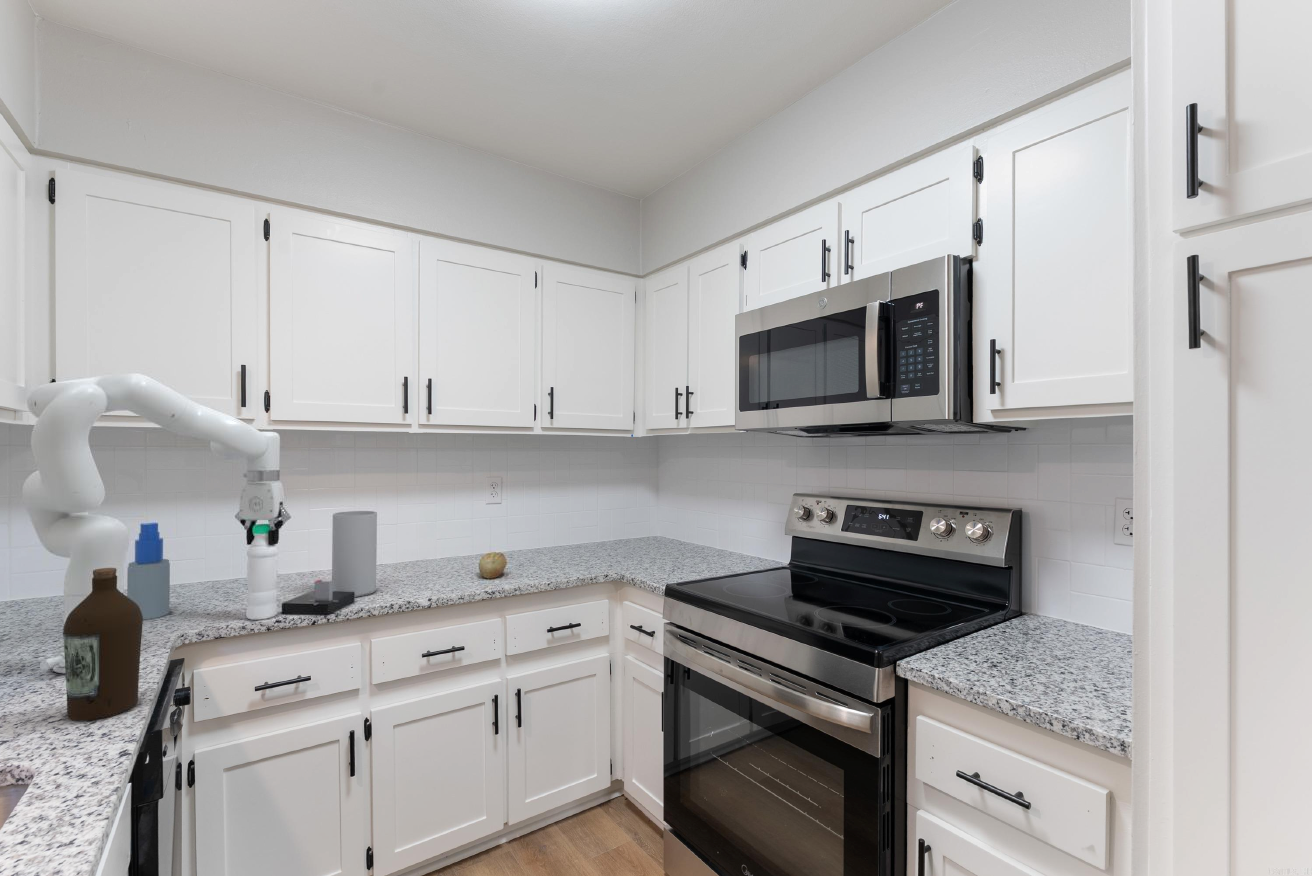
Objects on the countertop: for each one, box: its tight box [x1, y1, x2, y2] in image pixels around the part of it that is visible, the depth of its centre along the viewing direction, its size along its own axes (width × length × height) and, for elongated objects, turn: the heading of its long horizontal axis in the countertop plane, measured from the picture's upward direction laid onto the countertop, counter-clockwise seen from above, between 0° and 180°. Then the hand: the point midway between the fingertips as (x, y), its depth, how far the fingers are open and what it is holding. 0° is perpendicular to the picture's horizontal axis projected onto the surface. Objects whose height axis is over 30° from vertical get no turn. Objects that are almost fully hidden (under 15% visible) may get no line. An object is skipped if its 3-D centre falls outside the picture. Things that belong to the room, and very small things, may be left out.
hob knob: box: [314, 579, 333, 602], centre depth 174 cm, size 4×2×6 cm, turn 86°
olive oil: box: [62, 568, 144, 722], centre depth 111 cm, size 11×11×25 cm
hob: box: [281, 590, 356, 616], centre depth 178 cm, size 15×14×3 cm
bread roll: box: [478, 551, 508, 580], centre depth 223 cm, size 10×15×8 cm, turn 10°
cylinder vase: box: [331, 510, 378, 598], centre depth 195 cm, size 12×12×25 cm
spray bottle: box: [126, 522, 171, 621], centre depth 169 cm, size 9×9×25 cm
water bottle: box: [245, 523, 279, 621], centre depth 169 cm, size 7×7×25 cm
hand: (262, 543), depth 169 cm, fingers closed on water bottle, 5 cm apart
